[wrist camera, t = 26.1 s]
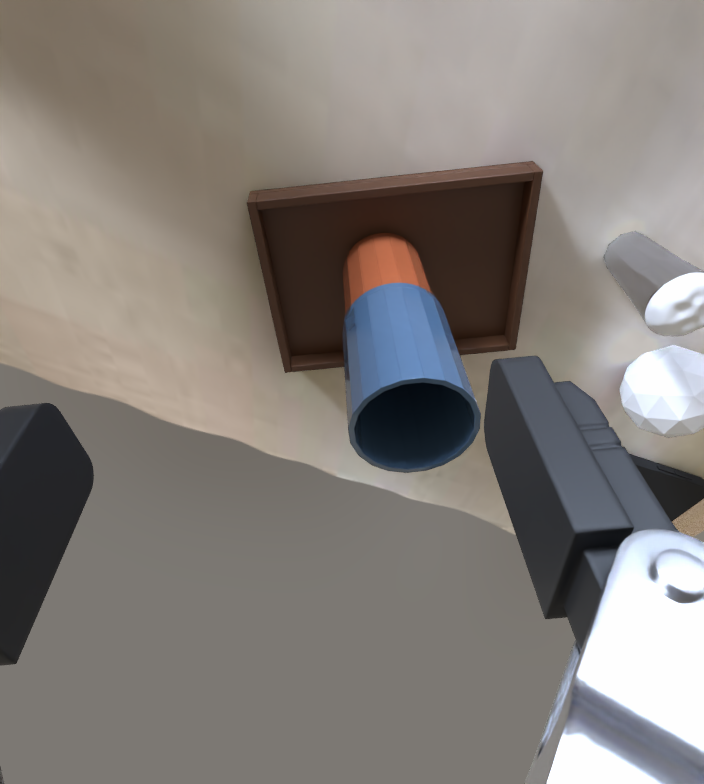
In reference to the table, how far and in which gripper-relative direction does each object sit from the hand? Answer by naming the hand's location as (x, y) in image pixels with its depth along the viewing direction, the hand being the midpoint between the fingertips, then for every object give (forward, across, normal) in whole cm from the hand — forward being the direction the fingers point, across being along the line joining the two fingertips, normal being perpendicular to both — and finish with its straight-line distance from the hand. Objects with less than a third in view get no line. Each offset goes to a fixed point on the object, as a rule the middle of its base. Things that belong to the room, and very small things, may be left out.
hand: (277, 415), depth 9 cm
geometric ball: (+28, -28, +24) cm, 46 cm away
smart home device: (+28, -29, +41) cm, 57 cm away
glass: (+20, -4, +11) cm, 23 cm away
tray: (+28, -5, +12) cm, 31 cm away
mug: (+27, -4, +13) cm, 31 cm away
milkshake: (+28, -23, +12) cm, 38 cm away
